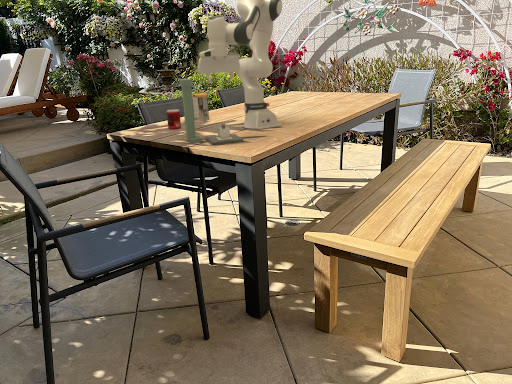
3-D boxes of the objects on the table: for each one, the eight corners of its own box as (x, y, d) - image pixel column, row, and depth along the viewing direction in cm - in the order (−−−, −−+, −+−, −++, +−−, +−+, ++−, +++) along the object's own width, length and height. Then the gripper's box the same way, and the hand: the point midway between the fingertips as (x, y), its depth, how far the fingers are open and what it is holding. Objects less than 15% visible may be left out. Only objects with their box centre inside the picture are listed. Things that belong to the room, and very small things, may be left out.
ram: (207, 115, 212) (205, 93, 208) (209, 117, 207) (208, 94, 203) (192, 116, 210) (190, 94, 206) (195, 118, 205) (192, 95, 201)
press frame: (198, 139, 216) (193, 78, 205) (201, 141, 208) (196, 79, 198) (185, 140, 214) (179, 79, 203) (187, 143, 206) (181, 80, 196)
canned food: (182, 127, 251) (180, 109, 248) (180, 129, 244) (178, 111, 240) (169, 127, 251) (167, 109, 248) (167, 130, 244) (165, 111, 240)
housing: (227, 136, 210) (226, 122, 208) (230, 138, 206) (229, 124, 204) (218, 137, 209) (217, 123, 207) (220, 139, 205) (219, 125, 202)
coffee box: (209, 119, 274) (208, 95, 269) (204, 121, 269) (202, 96, 263) (198, 119, 278) (196, 95, 273) (193, 120, 273) (190, 96, 268)
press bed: (235, 137, 217) (235, 133, 216) (243, 142, 204) (243, 138, 204) (206, 140, 212) (205, 136, 211) (212, 145, 199) (211, 142, 199)
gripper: (237, 51, 200) (238, 80, 204) (196, 53, 194) (198, 83, 198) (241, 51, 194) (242, 81, 199) (198, 53, 188) (201, 84, 193)
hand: (220, 82), depth 198 cm, fingers open, 8 cm apart
